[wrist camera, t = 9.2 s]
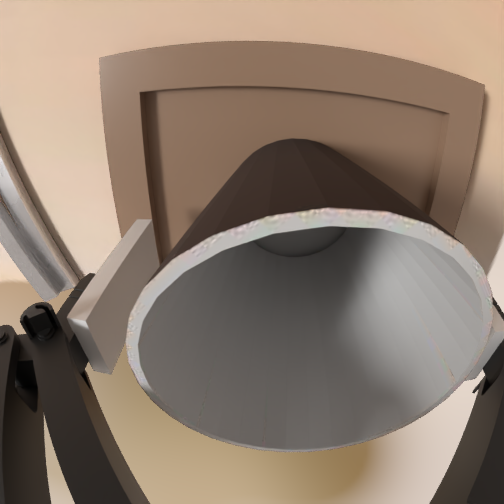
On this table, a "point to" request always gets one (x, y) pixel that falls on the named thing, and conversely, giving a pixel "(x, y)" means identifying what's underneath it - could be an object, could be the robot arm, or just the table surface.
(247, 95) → the tray
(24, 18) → the table surface
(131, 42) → the table surface
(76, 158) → the table surface
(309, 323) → the coffee mug
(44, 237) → the tongs
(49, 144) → the table surface
